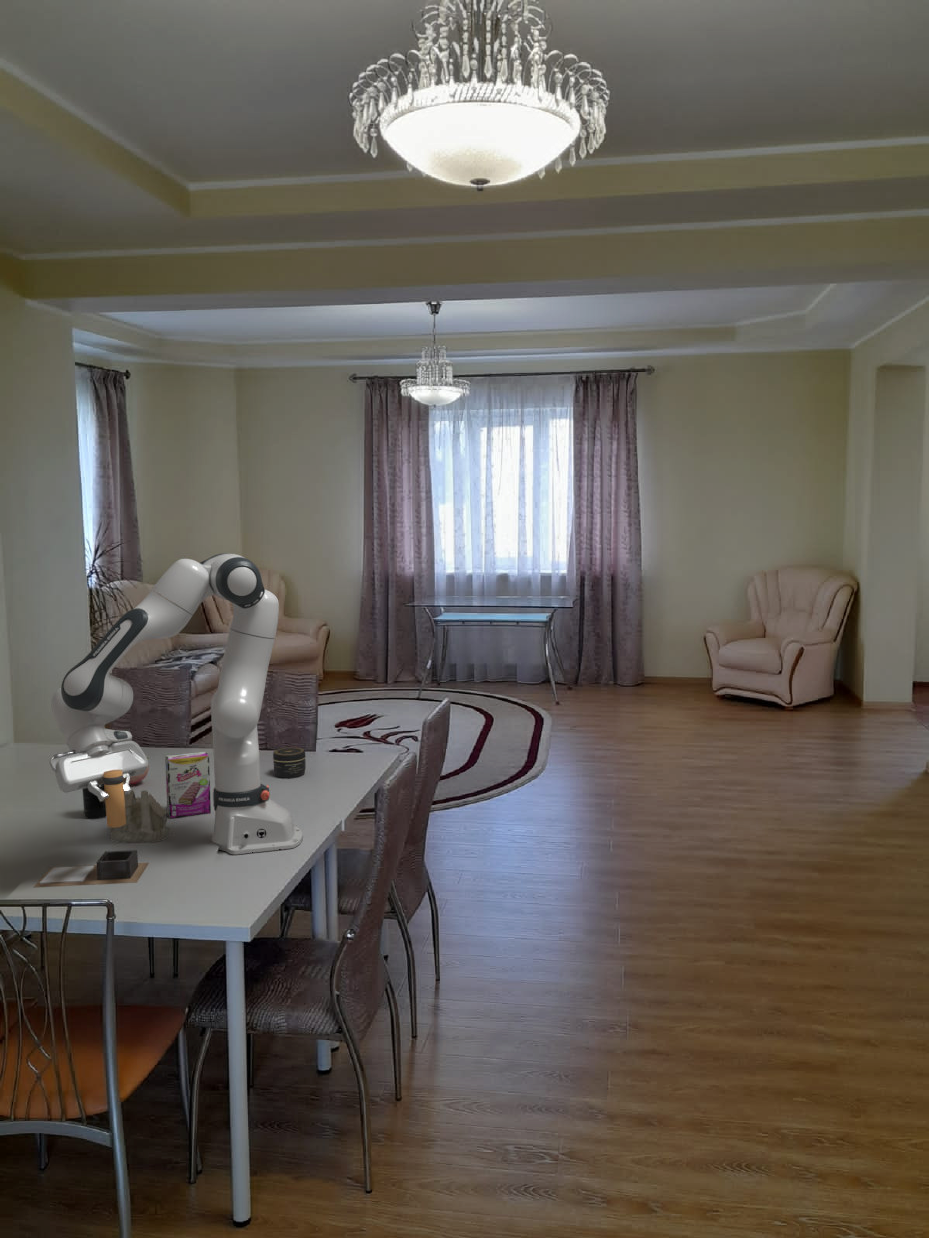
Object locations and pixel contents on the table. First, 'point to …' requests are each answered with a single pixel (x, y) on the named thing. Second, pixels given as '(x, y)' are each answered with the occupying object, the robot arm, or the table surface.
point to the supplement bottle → (93, 804)
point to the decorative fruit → (138, 777)
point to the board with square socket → (97, 871)
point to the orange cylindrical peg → (114, 798)
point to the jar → (289, 762)
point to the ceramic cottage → (142, 820)
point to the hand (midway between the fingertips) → (116, 796)
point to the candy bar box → (188, 784)
